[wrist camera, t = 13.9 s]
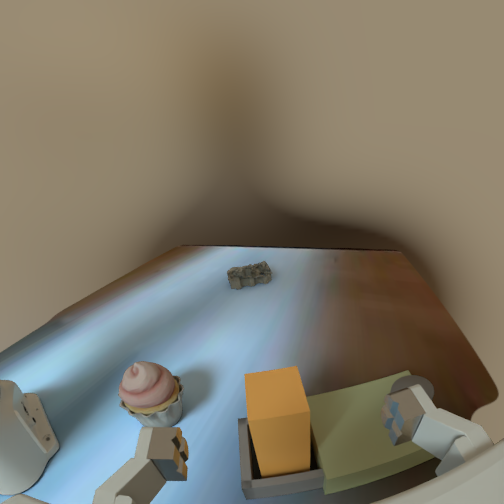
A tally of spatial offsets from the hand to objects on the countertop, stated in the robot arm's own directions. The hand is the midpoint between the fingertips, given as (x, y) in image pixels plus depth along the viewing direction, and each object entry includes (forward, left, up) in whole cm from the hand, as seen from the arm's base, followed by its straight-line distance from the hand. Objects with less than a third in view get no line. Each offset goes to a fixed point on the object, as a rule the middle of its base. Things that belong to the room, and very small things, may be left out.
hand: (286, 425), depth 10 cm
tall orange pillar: (-10, +7, -22) cm, 25 cm away
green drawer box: (-6, +12, -22) cm, 26 cm away
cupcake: (-26, -2, -22) cm, 34 cm away
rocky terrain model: (-53, +34, -22) cm, 67 cm away
